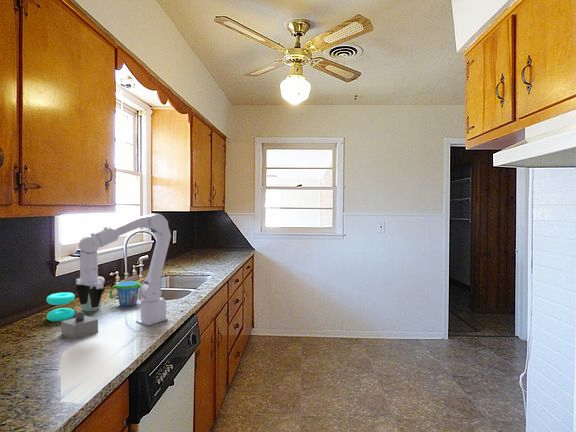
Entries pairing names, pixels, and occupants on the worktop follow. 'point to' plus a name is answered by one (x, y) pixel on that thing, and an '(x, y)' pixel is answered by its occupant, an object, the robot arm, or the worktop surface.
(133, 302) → the snack cup
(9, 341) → the worktop surface
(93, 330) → the grey block
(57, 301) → the donuts
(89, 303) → the disposable coffee cup
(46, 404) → the worktop surface
